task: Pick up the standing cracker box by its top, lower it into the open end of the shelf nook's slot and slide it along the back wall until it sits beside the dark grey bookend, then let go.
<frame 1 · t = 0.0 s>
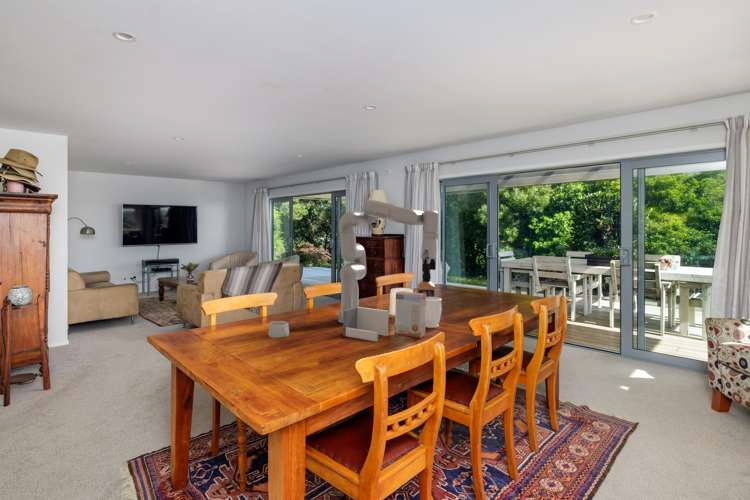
hand: (429, 270, 199), 31 cm above the table, fingers open, 9 cm apart
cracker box: (409, 335, 196), on the table
whiskey bottle: (425, 319, 230), on the table
jar: (430, 326, 215), on the table
mug: (279, 336, 190), on the table
shelf nook: (365, 335, 194), on the table
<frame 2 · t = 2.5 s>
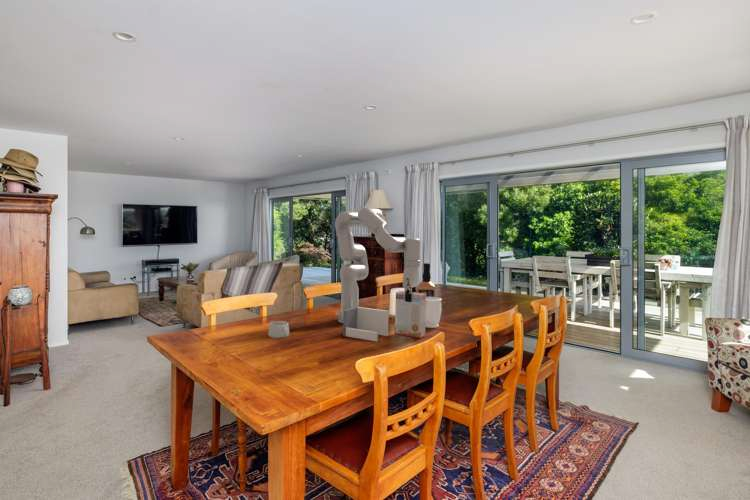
hand: (410, 300, 195), 17 cm above the table, fingers closed on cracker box, 6 cm apart
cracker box: (409, 335, 196), on the table, touching gripper
everything else where it was.
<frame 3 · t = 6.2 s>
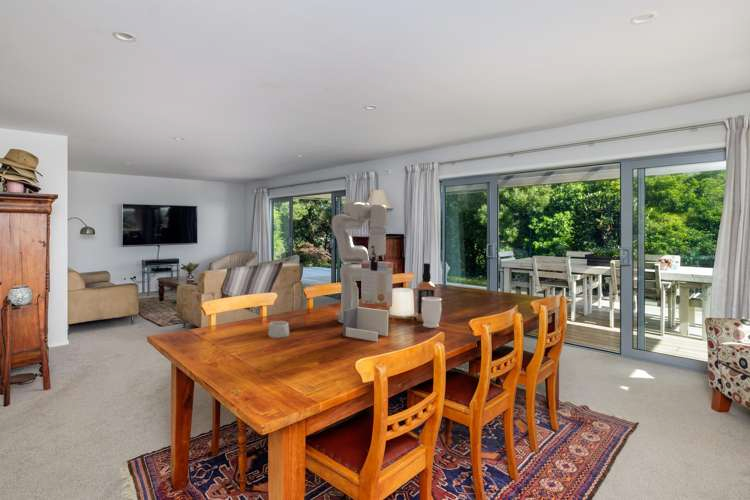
hand: (377, 269, 189), 32 cm above the table, fingers closed on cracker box, 6 cm apart
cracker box: (376, 306, 190), point 15 cm above the table, touching gripper
everything else where it was.
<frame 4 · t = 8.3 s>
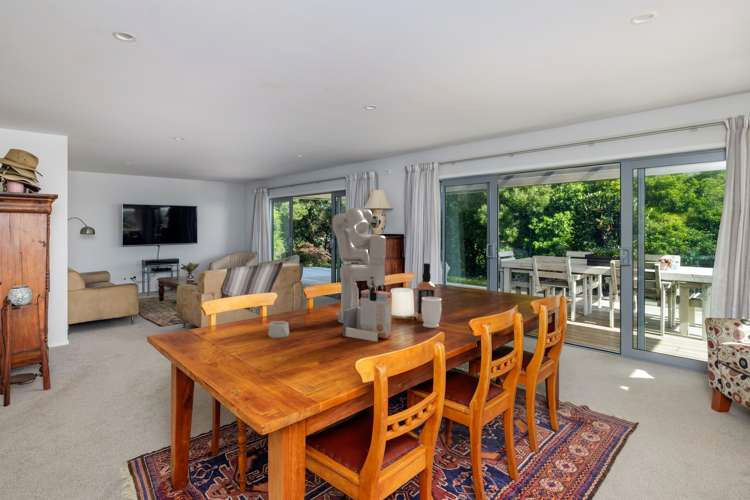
hand: (376, 299, 190), 18 cm above the table, fingers closed on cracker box, 6 cm apart
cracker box: (375, 335, 191), point 1 cm above the table, touching gripper
everything else where it was.
when the fingers open (18 cm above the table, at t = 9.9 s): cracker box drops 1 cm, resting in shelf nook.
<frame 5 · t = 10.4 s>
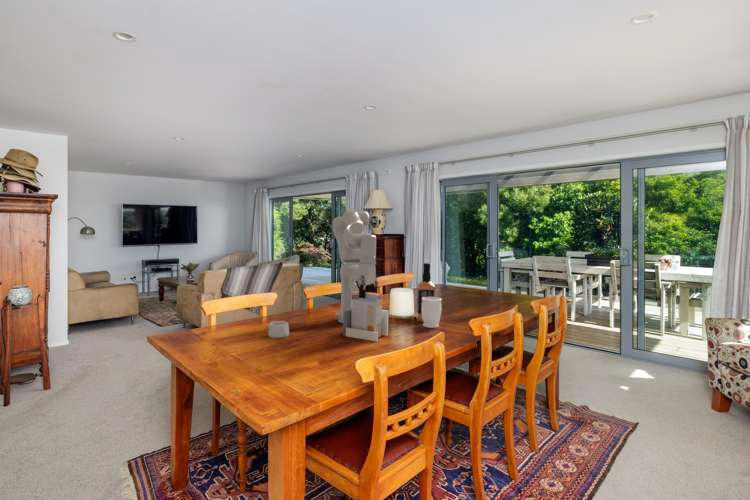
hand: (367, 296, 192), 19 cm above the table, fingers open, 9 cm apart
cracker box: (366, 336, 194), resting in shelf nook
everything else where it was.
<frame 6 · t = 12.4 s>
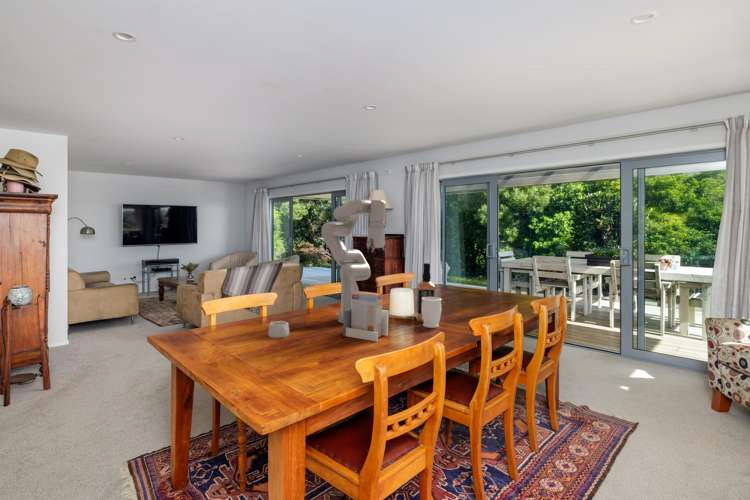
hand: (375, 259, 201), 36 cm above the table, fingers open, 9 cm apart
nothing on the table moved.
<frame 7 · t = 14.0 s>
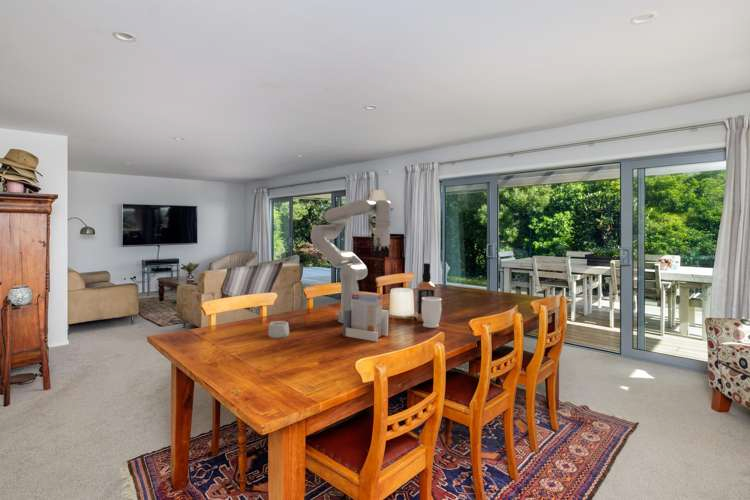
hand: (382, 257, 208), 36 cm above the table, fingers open, 9 cm apart
nothing on the table moved.
at the end: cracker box inside the target area (0.4 cm from its centre), resting in shelf nook; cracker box tilted 0°; the gripper is holding nothing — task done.
